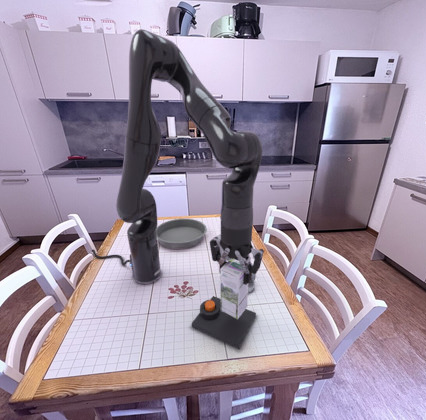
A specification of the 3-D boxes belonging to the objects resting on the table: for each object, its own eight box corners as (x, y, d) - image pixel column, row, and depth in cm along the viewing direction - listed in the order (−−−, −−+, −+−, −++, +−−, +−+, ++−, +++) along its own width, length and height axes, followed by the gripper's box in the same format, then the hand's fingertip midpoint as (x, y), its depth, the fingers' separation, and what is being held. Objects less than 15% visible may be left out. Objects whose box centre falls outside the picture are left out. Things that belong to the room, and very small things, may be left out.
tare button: (203, 309, 70) (202, 305, 69) (208, 302, 72) (208, 298, 71) (211, 313, 68) (211, 309, 68) (216, 306, 71) (216, 302, 70)
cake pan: (183, 257, 99) (182, 248, 97) (144, 241, 111) (142, 232, 109) (216, 234, 118) (216, 226, 116) (180, 222, 130) (179, 214, 128)
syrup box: (248, 306, 67) (250, 264, 61) (237, 321, 62) (239, 276, 56) (231, 298, 69) (231, 257, 64) (219, 311, 65) (219, 268, 59)
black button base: (190, 326, 68) (189, 317, 66) (212, 299, 78) (211, 291, 76) (239, 350, 61) (239, 340, 60) (255, 316, 71) (256, 308, 70)
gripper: (271, 221, 55) (265, 278, 62) (217, 209, 61) (218, 263, 68) (260, 235, 49) (255, 297, 56) (201, 220, 55) (204, 278, 61)
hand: (234, 278), depth 62 cm, fingers closed on syrup box, 6 cm apart
